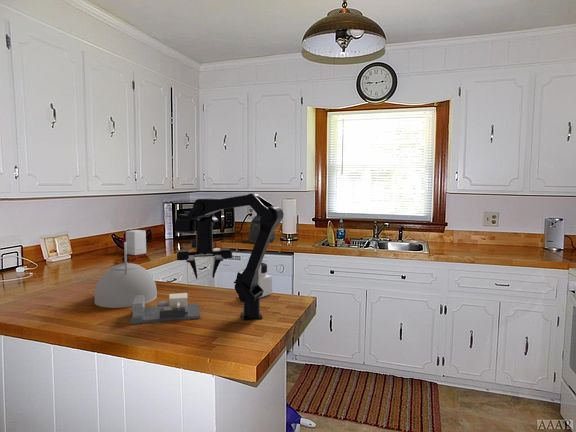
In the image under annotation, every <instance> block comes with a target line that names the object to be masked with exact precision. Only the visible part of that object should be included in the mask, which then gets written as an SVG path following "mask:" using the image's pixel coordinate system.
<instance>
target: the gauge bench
mask: <svg viewBox="0 0 576 432" xmlns="http://www.w3.org/2000/svg"><path fill="white" fill-rule="evenodd" d="M131 308H132V311H131V312H132V316H131V318H130V323H129V324H130V325H138V324H149V323H160V322H162V323H163V322H172V321H174V322H175V321H184V320H196V319H197V320H198V319H201V311H200V306H199V302H198V303H197V302H196V303H188V312H185V307H180V308H172V307H169V306H160V307H157V305H156V306H155V305H154V306H146V303H145V295H136V296H135V298H134V301H133V304H132V306H131Z"/></svg>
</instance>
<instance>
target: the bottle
mask: <svg viewBox="0 0 576 432" xmlns="http://www.w3.org/2000/svg"><path fill="white" fill-rule="evenodd" d="M260 217H261V216H259V215H258V214H257V213H256V215H255V216H254V217H253V218H252V220H251V221H250V225H249V229H248V230H249V231H248V236H247V241H249V242H250V243H251V244H255V242H256V239H257V236H258V234H259V230H260V223H259V222H260ZM275 231H276V230H275ZM275 231H274V232H273V234H272V236H271V239H270V241H269V242H270V243H272V242H273V241H275V239H276V238H277V236H276V232H275Z"/></svg>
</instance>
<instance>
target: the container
mask: <svg viewBox="0 0 576 432" xmlns="http://www.w3.org/2000/svg"><path fill="white" fill-rule="evenodd" d="M258 274H259V279H258V285H259V286H260V287H261V288H262V289H263V291H264V292H263V295H262V296H261V297H259V298H260V299H261V298H263V297H266V296H269V295H272V293H273V275H271V274H270V275H269V274H268V264H267V263H265V262H262V263H261V265H260V268H259V271H258Z"/></svg>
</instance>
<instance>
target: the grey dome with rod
mask: <svg viewBox="0 0 576 432" xmlns="http://www.w3.org/2000/svg"><path fill="white" fill-rule="evenodd" d="M123 251H124V252H123V254H124V256H122V257H121V261H122V262H123V263H120V264H116V265H113V266H111V267H110V268H109V269H107V270H106V271H105V272H104V273H103V274H102V275H101V276H100V278H99V279H98V281H97V283H96V286H95V289H94V303H93V304H95V305H96V306H98V307H101V308H108V309H109V308H111V309H113V308H114V309H118V308H119V309H120V308H129V307H131V308H132V304H133V301H134V298H135V296H136V295H145V304H148V303H150V302H151V303H152V302H153V301H155V300H156V299H157V297H158V293H157V284H156V281H155V278H154V277H153V275H152V274H151V272H149V270H148V269H146V268H144V267H143V266H141V265H139V264H137V263H131V262H129V261H130V257H129V256H128V254H127V248H126V241H124V242H123Z"/></svg>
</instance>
